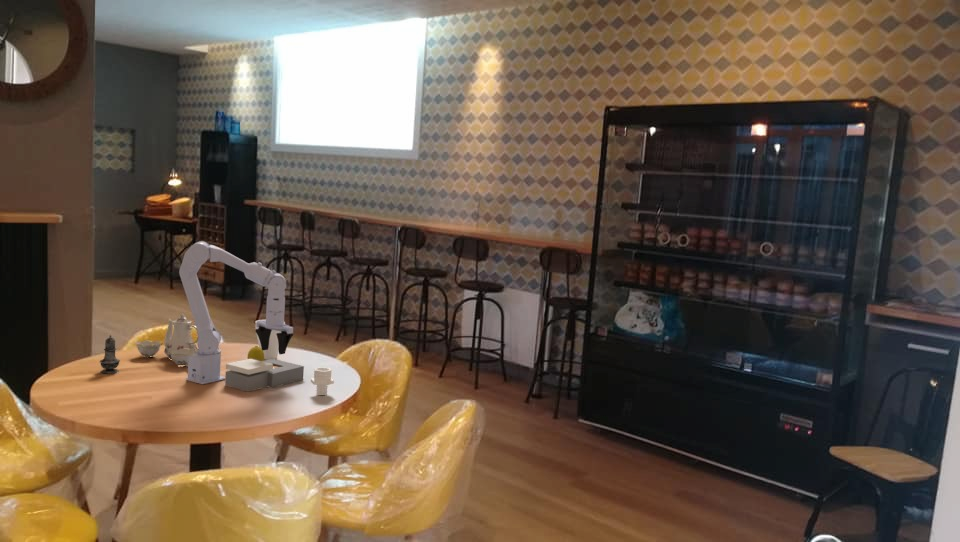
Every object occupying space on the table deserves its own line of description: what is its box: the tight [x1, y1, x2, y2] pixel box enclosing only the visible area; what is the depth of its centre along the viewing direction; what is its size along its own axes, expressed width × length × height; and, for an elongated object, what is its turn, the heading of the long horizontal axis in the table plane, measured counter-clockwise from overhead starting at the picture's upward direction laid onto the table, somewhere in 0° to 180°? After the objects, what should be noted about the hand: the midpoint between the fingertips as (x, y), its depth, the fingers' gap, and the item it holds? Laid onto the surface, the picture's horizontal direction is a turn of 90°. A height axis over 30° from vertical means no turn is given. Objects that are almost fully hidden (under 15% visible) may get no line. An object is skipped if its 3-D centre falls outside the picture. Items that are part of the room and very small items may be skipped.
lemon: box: [246, 345, 265, 361], centre depth 243 cm, size 6×6×8 cm
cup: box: [254, 318, 286, 361], centre depth 259 cm, size 10×10×14 cm
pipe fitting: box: [310, 366, 335, 396], centre depth 219 cm, size 6×7×8 cm
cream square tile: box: [225, 358, 273, 375], centre depth 223 cm, size 10×10×2 cm
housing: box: [224, 359, 305, 392], centre depth 228 cm, size 22×14×4 cm, turn 151°
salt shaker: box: [99, 335, 121, 375], centre depth 226 cm, size 6×6×12 cm
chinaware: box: [135, 313, 198, 367], centre depth 246 cm, size 28×17×17 cm, turn 67°
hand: (273, 351), depth 231 cm, fingers open, 7 cm apart
